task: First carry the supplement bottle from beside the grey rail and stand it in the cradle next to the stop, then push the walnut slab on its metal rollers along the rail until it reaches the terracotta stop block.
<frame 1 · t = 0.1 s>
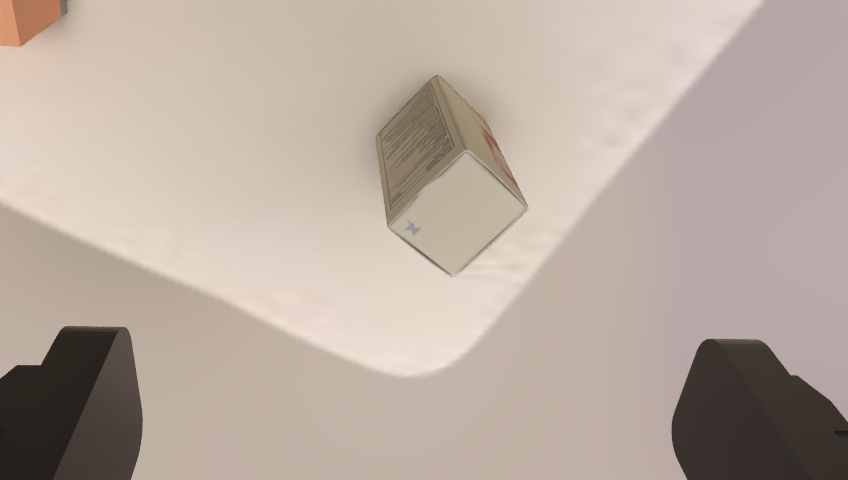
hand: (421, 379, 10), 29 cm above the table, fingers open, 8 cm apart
skincare box: (433, 128, 40), on the table
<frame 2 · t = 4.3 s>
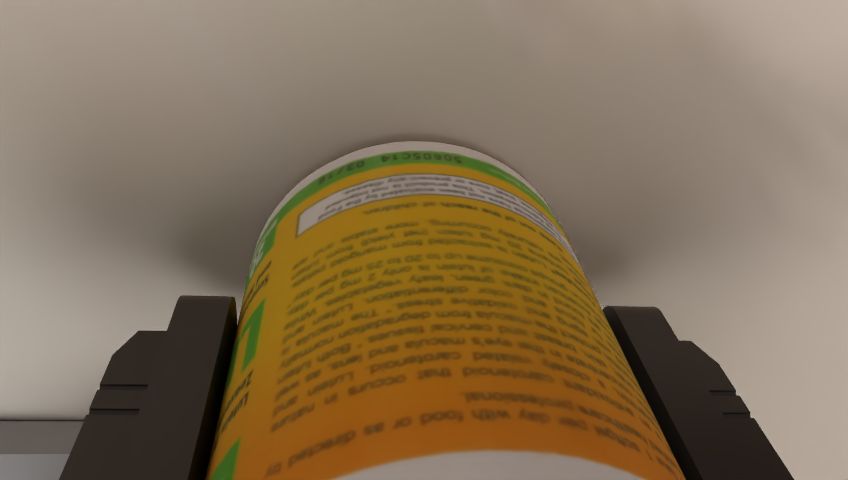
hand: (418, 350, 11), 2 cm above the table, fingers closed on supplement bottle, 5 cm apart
supplement bottle: (409, 269, 13), on the table, touching gripper
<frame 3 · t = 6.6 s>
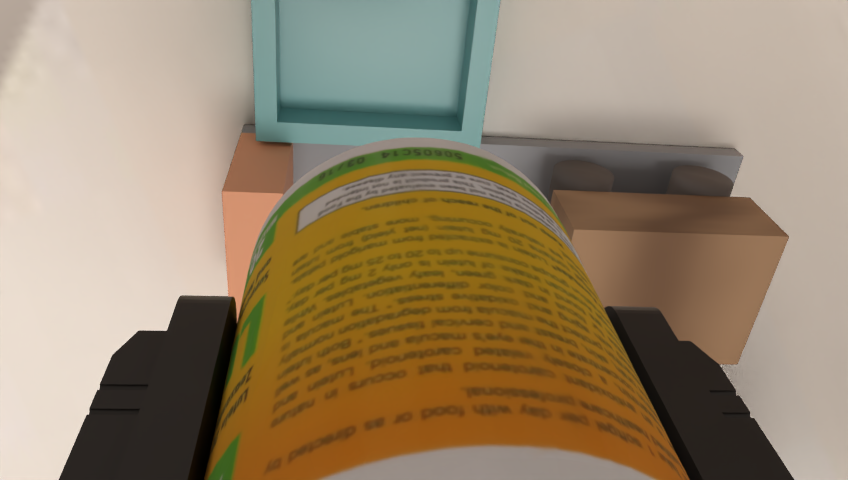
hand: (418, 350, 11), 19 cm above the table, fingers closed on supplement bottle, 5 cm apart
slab: (637, 262, 29), point 4 cm above the table, slide at 0.0 cm
supplement bottle: (409, 266, 13), point 17 cm above the table, touching gripper
cradle: (374, 20, 27), on the table
rail: (488, 210, 32), on the table
when the fingers open (4 cm above the table, at t = 9.3 s): supplement bottle drops 2 cm, resting on cradle.
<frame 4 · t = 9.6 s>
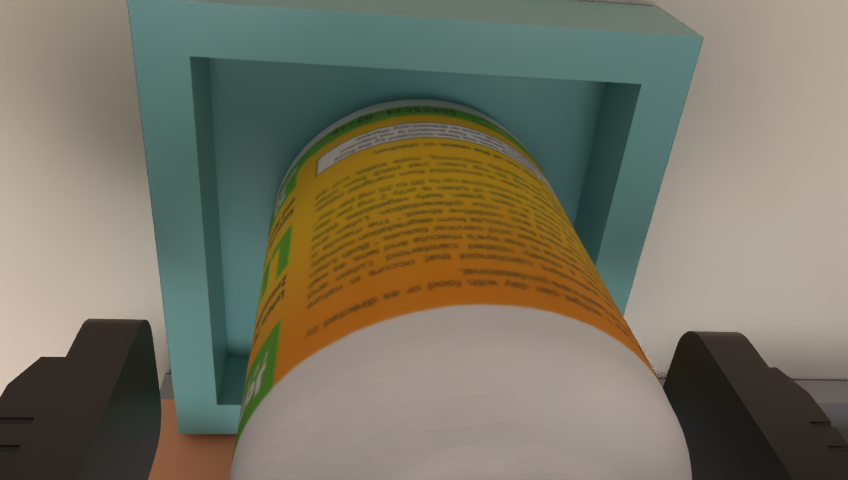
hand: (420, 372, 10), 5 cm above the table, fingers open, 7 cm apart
supplement bottle: (410, 218, 14), resting on cradle
cradle: (400, 207, 15), on the table
rail: (582, 476, 19), on the table
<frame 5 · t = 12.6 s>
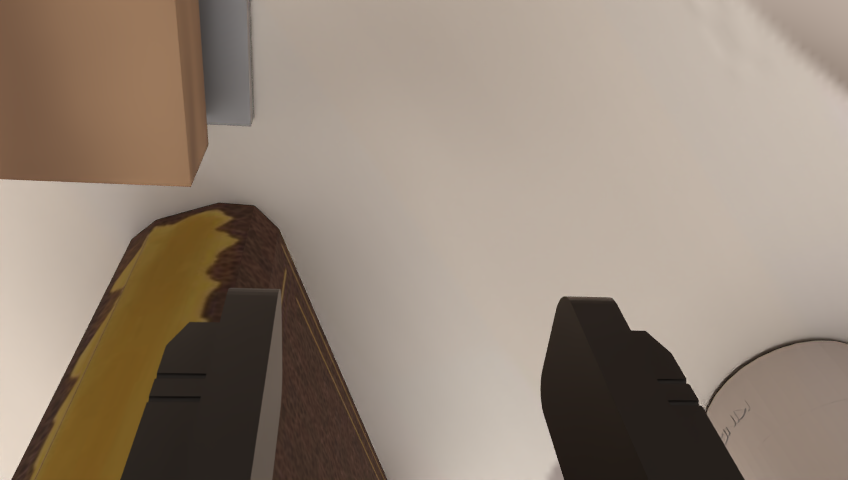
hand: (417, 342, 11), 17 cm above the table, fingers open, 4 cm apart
book: (284, 400, 35), on the table
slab: (59, 47, 21), point 4 cm above the table, slide at 0.0 cm
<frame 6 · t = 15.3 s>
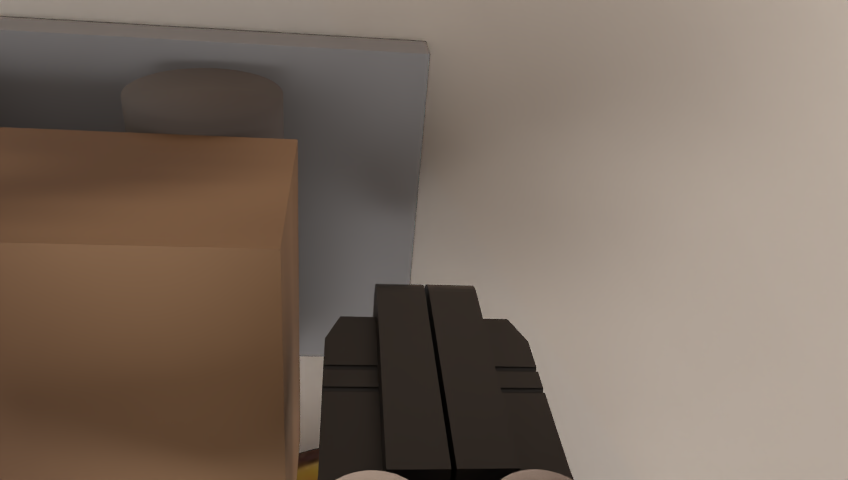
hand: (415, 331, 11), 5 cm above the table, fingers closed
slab: (37, 315, 11), point 4 cm above the table, slide at 1.2 cm, touching gripper
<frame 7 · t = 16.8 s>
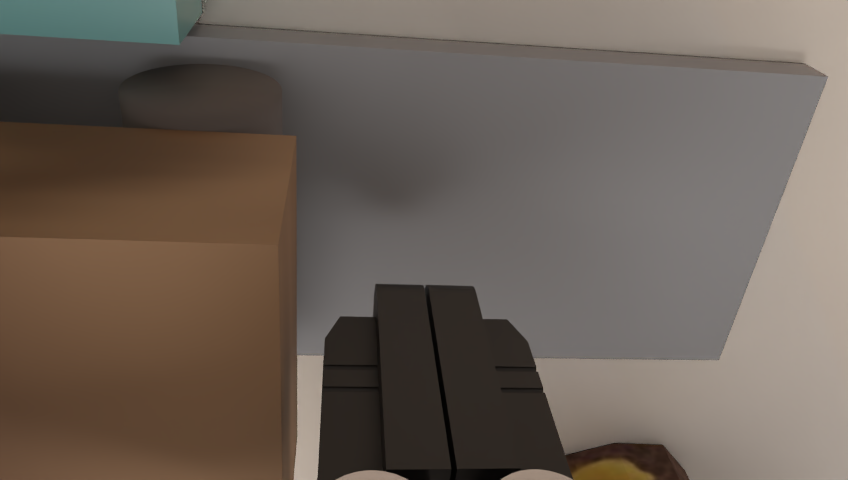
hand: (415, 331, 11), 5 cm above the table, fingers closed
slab: (32, 311, 11), point 4 cm above the table, slide at 8.8 cm, touching gripper
rail: (274, 198, 15), on the table
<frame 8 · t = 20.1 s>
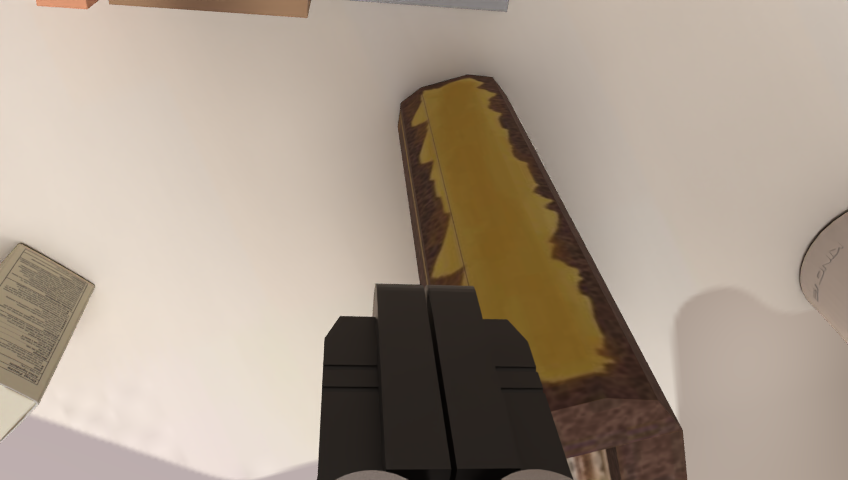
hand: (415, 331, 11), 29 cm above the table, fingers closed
book: (485, 243, 45), on the table
skincare box: (43, 284, 44), on the table
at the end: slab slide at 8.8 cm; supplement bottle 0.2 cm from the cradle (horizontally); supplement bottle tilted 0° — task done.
